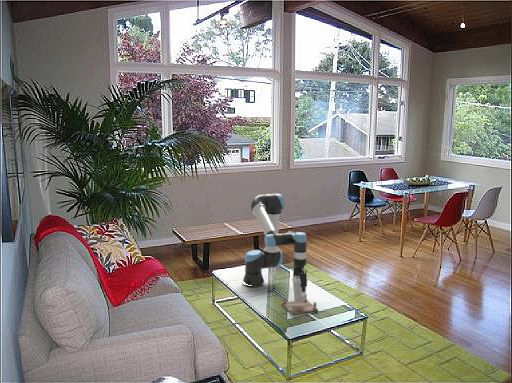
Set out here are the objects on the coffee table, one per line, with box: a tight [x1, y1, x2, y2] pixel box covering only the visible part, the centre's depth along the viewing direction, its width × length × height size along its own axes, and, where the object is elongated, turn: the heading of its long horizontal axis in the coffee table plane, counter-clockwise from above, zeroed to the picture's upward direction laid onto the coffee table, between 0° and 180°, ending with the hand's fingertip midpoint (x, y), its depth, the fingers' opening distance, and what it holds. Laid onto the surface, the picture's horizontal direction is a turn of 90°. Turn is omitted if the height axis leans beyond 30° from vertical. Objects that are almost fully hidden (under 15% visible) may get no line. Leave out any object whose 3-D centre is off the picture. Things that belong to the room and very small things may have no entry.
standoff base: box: [281, 294, 319, 316], centre depth 261 cm, size 17×17×5 cm
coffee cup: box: [291, 275, 309, 302], centre depth 260 cm, size 10×10×15 cm
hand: (299, 293), depth 260 cm, fingers closed on coffee cup, 8 cm apart
